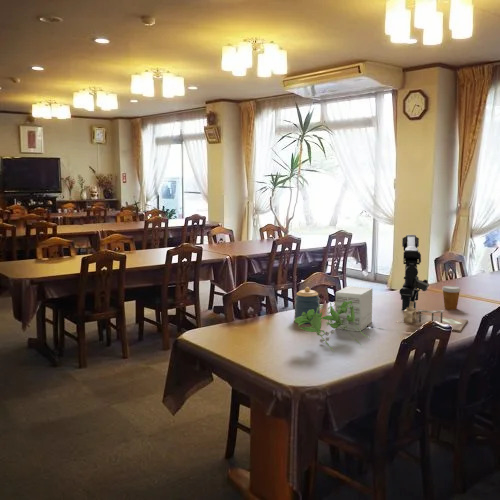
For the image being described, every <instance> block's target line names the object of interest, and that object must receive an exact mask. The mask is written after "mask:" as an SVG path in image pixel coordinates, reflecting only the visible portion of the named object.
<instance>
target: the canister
mask: <svg viewBox="0 0 500 500" xmlns="http://www.w3.org/2000/svg"><path fill="white" fill-rule="evenodd" d="M293 298H294V300H295V302H294V320H295V319H296V318H297V317H300V316H303V317H304V315H302V313H303V312H305V313H306V314H307V312H308V311H309V310H311V309H314V311H315V313H316V311H317V308H319V307H320V306H319V305H321V304H320V300H321V298H320V297H319V292H317V291H316V290H313V289H311V288H310V287H309V286H306V287H305V288H304V289H301V290H299V291H298V292H296V296H295V297H293ZM320 311H321V310H320V308H319V309H318V311H317V313H318V314H320V313H321V312H320ZM312 318H313V317H312ZM311 320H312V319H311ZM304 324H305V325H311V323H310V322H307V323H303V324H302V325H304Z"/></svg>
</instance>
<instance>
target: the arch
mask: <svg viewBox="0 0 500 500" xmlns="http://www.w3.org/2000/svg"><path fill="white" fill-rule="evenodd" d="M416 314H417V307H416V308H414V302H413V301H410V305H409V308H407V307H406V310H403V316H404V322H410V323H412V319H416Z"/></svg>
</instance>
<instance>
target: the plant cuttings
mask: <svg viewBox="0 0 500 500" xmlns="http://www.w3.org/2000/svg"><path fill="white" fill-rule="evenodd" d="M350 303H351V304H352V301H349V302H347V301H345V302H343V303H342V305H341V306H340V305H339V308H340V309H341V310H340V309H339V308H337V309H339V310H338V311H337V313H336V309H334V308H335V307H336V301H334V302H332V301H331V302H330V303H329V307H328V308H327V311H326V312H327V314H330V315H325V316H322V315H323V310H322V311H321V310H320V311H321V312H320V314H318V313H317V311H318V309H319V308H320V309H322V308H323V307H324V305H323V304H320V305H319V306H320V307H319V308H317V311H316V313H315V311H314V309H311V310H309V311H308V312H307V314H306V313H305V312H303V313H302V315H304V317H303V316H300V317H297V318H296V319H295V318H294V320H293V322H295V323H297V324H298V325H297V326H298V327H297V328H299V329H301V330H303V331H306V332H308V333H315V334H316V335H317V336H319V337H320V339H319V342H320V343H321V344H324V343H326V345H327V346H328V347H329V348H330V349H331V350H332V351H334V349H333V348H332V347H331V346H330V345H329V344H328V342H329V341H330V337H332V336H333V334H335V330H336V328H338V327H339V326H340V325H341V323H342V325H343V321H344V320H345V319H343V320H342V321H341V319H340V317H339V315H340V314H342V313H346V312H347V307H350V308H351V315H348V314H347V321H348V322H353V323H354V320H355V314H354V309H353V306H352V307H351V305H348V304H350ZM332 304H333V306H332ZM312 317H313V318H312ZM351 317H352V318H351ZM311 319H312V320H311ZM322 320H325V321H326V320H327V322H326V323H325V324H326V326H328V327H331V328H332V329H331V330H330V331H325V330H321V329H322ZM335 321H336V322H335ZM307 322H310V323H311V324H310V326H302V327H300V326H301V325H304V324H303V323H307ZM344 326H345V324H344ZM355 326H356V325H355ZM342 327H343V326H342ZM346 327H347V326H346ZM356 327H357V326H356ZM340 328H341V327H340ZM343 329H345V327H344V328H342V329H341V330H343ZM358 330H359V329H358ZM359 331H360V330H359ZM322 333H323V334H322ZM360 334H362V335H363V336H364V337H366V338H368V339H369V338H370V336H367V335H366V334H364V332H362V331H360ZM323 336H325V337H323ZM354 340H355V341H356V342H357V343H358V344H359V345H360V346H362V344H361V343H360V342H359V340H357V338H354Z"/></svg>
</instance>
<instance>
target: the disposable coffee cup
mask: <svg viewBox="0 0 500 500" xmlns="http://www.w3.org/2000/svg"><path fill="white" fill-rule="evenodd" d="M441 290H442V295H443V296H442V297H443V304H444V309H445V310H452V311H455V310H457V309H458V303H459V299H460V298H459V297H460V292H461V287H459V286H456V285H444V286H442V288H441Z"/></svg>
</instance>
